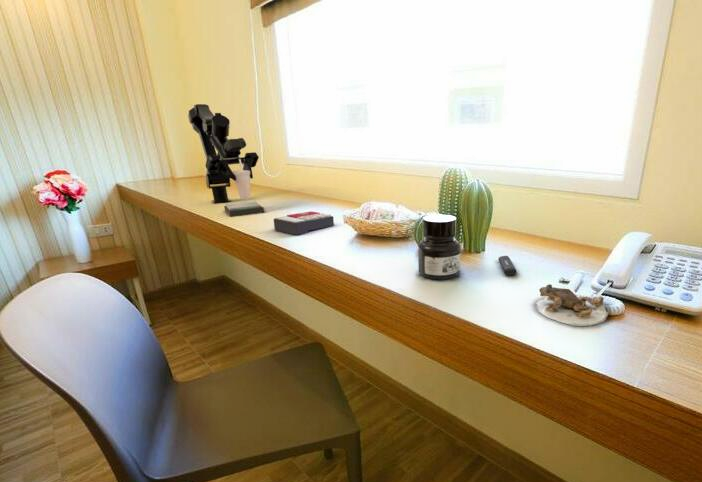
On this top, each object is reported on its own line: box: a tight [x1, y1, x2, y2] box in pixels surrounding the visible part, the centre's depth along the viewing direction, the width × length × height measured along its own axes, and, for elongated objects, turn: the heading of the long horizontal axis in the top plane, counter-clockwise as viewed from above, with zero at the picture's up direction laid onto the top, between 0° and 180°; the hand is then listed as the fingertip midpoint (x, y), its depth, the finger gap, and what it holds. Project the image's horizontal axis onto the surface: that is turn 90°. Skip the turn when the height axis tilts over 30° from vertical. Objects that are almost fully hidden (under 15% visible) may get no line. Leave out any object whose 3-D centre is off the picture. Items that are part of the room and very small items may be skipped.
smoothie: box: [232, 159, 251, 199], centre depth 146 cm, size 6×6×14 cm
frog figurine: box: [535, 284, 609, 327], centre depth 66 cm, size 12×12×4 cm
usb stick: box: [498, 255, 517, 276], centre depth 86 cm, size 10×3×2 cm, turn 176°
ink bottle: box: [417, 214, 462, 281], centre depth 82 cm, size 10×9×12 cm
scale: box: [223, 200, 265, 217], centre depth 149 cm, size 12×12×3 cm
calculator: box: [273, 211, 335, 236], centre depth 123 cm, size 11×4×15 cm
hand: (243, 178), depth 145 cm, fingers closed on smoothie, 6 cm apart
